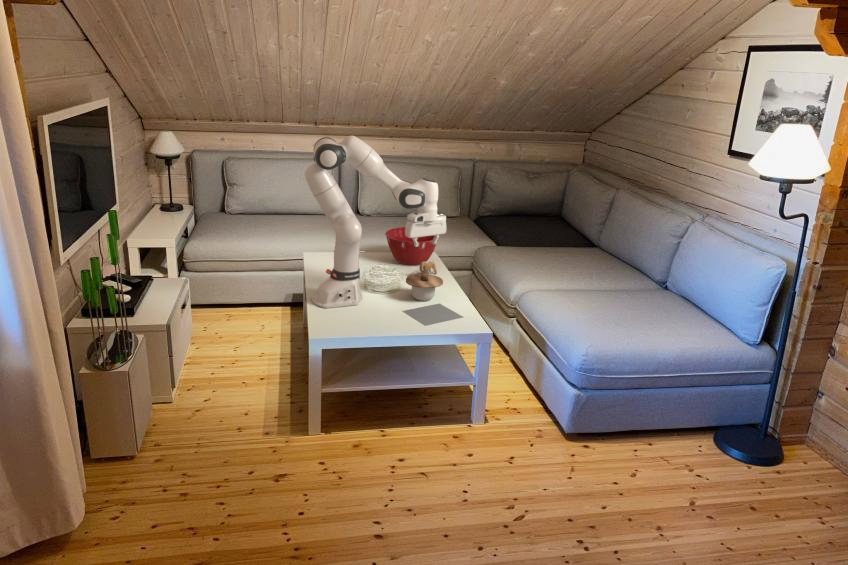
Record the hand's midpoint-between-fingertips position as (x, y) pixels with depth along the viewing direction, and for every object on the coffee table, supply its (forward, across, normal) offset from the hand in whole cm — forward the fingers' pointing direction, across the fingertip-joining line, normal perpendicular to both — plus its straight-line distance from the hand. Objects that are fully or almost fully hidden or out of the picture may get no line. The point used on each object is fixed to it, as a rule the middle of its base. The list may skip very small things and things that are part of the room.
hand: (425, 245), depth 299 cm
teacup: (+25, 0, +1) cm, 25 cm away
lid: (+17, 0, +1) cm, 17 cm away
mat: (+25, +8, +20) cm, 33 cm away
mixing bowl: (+25, -25, -48) cm, 59 cm away
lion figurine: (+25, -19, -24) cm, 40 cm away
